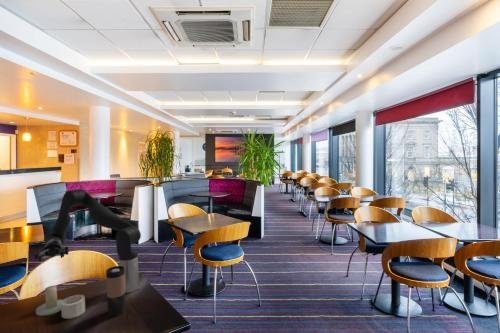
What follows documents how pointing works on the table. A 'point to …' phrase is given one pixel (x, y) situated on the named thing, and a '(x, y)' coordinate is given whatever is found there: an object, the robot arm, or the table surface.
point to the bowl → (73, 306)
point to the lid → (50, 302)
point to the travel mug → (115, 290)
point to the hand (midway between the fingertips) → (51, 257)
